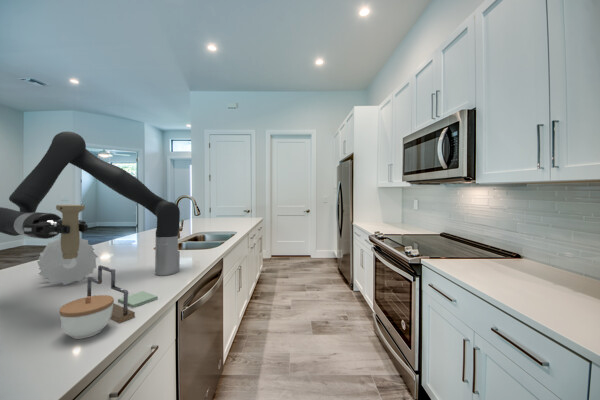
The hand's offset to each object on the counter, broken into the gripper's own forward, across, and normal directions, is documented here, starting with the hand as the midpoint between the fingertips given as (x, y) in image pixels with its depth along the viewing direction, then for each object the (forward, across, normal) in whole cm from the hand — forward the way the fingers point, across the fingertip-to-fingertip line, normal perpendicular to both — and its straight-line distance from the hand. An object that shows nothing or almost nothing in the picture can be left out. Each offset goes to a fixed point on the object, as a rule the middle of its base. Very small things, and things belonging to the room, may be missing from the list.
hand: (77, 228), depth 68 cm
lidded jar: (+8, -2, +27) cm, 28 cm away
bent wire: (0, +8, +27) cm, 28 cm away
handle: (-3, 0, +9) cm, 9 cm away
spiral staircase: (-44, +22, +27) cm, 57 cm away
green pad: (+2, +17, +27) cm, 31 cm away
